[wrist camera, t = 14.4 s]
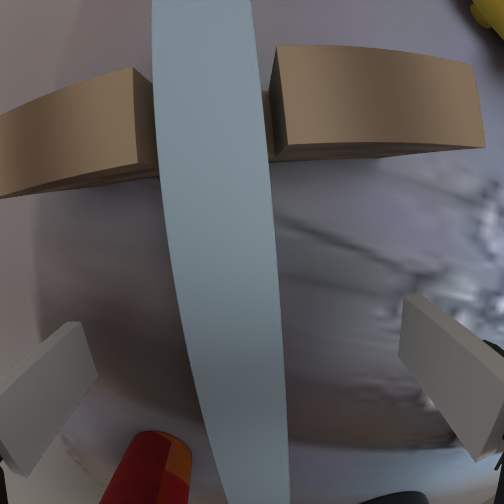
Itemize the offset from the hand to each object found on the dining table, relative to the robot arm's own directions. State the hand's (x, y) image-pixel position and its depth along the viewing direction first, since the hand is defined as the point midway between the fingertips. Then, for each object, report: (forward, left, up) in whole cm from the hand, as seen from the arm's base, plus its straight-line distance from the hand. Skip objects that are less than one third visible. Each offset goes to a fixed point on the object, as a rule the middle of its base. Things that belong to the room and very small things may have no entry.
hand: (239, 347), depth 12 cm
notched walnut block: (+8, 0, -8) cm, 12 cm away
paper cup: (-16, +9, -8) cm, 20 cm away
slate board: (+1, 0, -8) cm, 8 cm away
